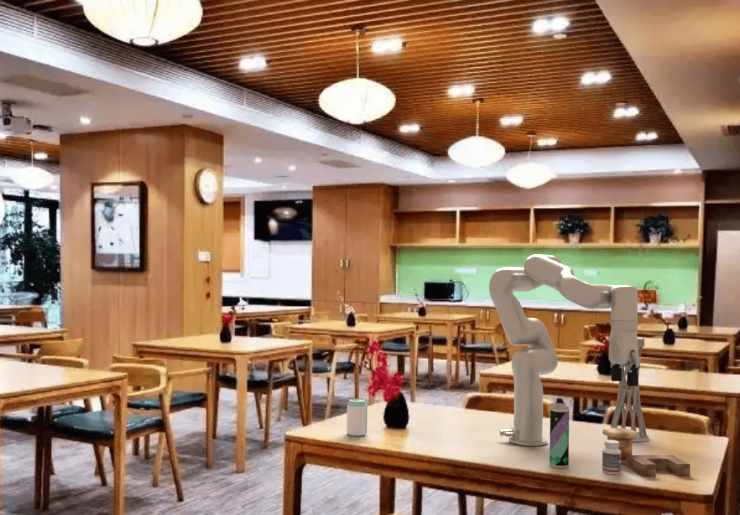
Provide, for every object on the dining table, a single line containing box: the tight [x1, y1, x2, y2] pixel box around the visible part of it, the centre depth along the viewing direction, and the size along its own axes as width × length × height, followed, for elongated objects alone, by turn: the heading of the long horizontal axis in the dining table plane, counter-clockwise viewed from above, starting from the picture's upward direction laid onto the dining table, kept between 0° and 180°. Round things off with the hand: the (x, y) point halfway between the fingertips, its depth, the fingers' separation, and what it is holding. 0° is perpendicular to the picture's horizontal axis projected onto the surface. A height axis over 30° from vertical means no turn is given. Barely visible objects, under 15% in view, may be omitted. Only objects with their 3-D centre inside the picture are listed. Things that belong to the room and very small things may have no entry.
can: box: [346, 398, 368, 437], centre depth 245 cm, size 7×7×12 cm
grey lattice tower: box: [610, 336, 650, 443], centre depth 249 cm, size 14×13×35 cm
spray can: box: [549, 397, 570, 469], centre depth 210 cm, size 6×6×20 cm
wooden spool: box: [602, 427, 638, 466], centre depth 217 cm, size 10×10×9 cm
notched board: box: [626, 454, 691, 478], centre depth 206 cm, size 14×10×4 cm
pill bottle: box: [601, 439, 622, 475], centre depth 204 cm, size 5×5×9 cm
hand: (624, 383), depth 213 cm, fingers open, 9 cm apart
